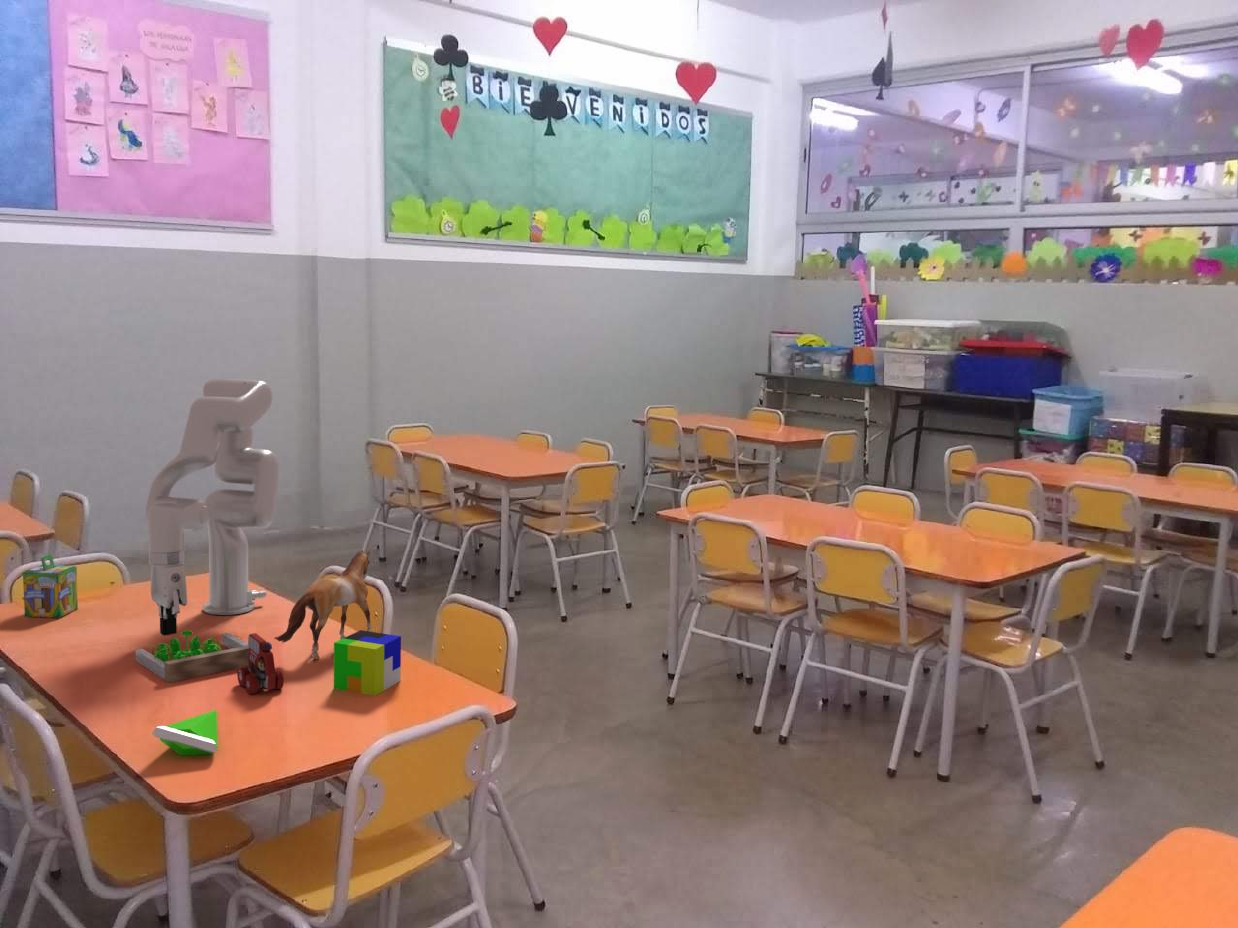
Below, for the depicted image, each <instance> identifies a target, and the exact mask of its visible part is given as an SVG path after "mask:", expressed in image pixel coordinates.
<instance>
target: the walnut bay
mask: <svg viewBox="0 0 1238 928" xmlns="http://www.w3.org/2000/svg"><path fill="white" fill-rule="evenodd" d="M221 645H223V646H224V647H226V648H227V649H224V650H222V651H220V650H219V651H217V652H212V653H207V654H205V653H204V654H202V655H197V656H194V655H193V656H186V657H184V658H181V659H176V660H174V659H173V660H171V659H170V660H169V661H166V662H163V661H161V660H160V659H158V658H157V656H156V657H154V656H155V654H154V655H152V653H150V652H149V651H147V650H145V649H144V648H138V649H135V661H136V662H137V663H139V664H140V665H142V666H143V667H144V668H146V669H147V670H149V671H150V672H152V673H153V674H155V676H156V675H157V676H158V677H159V678H161V679H162V680H164V681H165V682H166V683H173V682H174V683H175V682H178V681H183V680H188V679H193V678H198V677H203V676H207V675H211V674H212V675H213V674H218V673H222V672H226V671H231V670H236V669H237V670H238V669H239V668H240V667H245V666H246V667H248V657H249V646H248V642H246V641H244V640H242V639H240V638H239V637H237V636H235V635H233V634H231V633H229V632H225V633H221Z"/></svg>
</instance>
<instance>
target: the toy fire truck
mask: <svg viewBox="0 0 1238 928" xmlns="http://www.w3.org/2000/svg"><path fill="white" fill-rule="evenodd" d="M247 643H248V646H249V657H248V666H245V667H240V668H237V676H236V677H237V681H238V684H239V686H240V687H241V688H245V690H246V693H247V694H248V695H254V694H257V693H258V691H259V690H260V689H262V688H263V689H266V690H281V689H283V688H284V685H285V680H284V675H283V674H284V673H283V671H282V670H281V669H276V666H275V660H274V653H273V651H272V649H273V644H272V643H271V642H270V641H269V642H268V641H267V640H266V639H264V638H263V637H261V636H260V634H258V633H256V632H253V633H250V634H248V637H247Z"/></svg>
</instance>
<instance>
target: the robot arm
mask: <svg viewBox="0 0 1238 928" xmlns="http://www.w3.org/2000/svg"><path fill="white" fill-rule="evenodd" d="M202 389H203V391H202V392H203V396H202V397H199V398H196V399H195V400H194V401H193V402H192V404H191V405H190V409H189V413H188V417H187V421H186V424H185V428H184V433H183V436H182V440H181V445H180V449H179V452H178V454H177V455H175V456H174V458H172V460H170V461H169V462H168V463H167V464H165V466H164V467H163V468H162V469H161V470H160V471H159V472H158V474H157V475H156V476H155V477H154V479H153V481H152V484H151V486H150V489H149V493H148V497H147V502H146V507H145V518H146V521H147V523H148V524H147V525H148V526H147V527H148V528H147V529H148V562H149V564H148V565H149V566H151V568H150V569H151V570H150V596H151V600H152V601H153V602H154V603H155V604H156V606H157V607H158V616H159V634H160V635H161V636H162V637H163V636H164V637H166V636H171V635H176V634H177V631H178V630H177V623H178V622H177V618H178V614H180V613H181V608H180V605H181V606H182V607H186V606H187V605H188V589H187V579H186V569H185V566H184V564H185V532H192V531H193V532H194V531H199V530H201V529H203V528H204V527H206V526H207V533H208V534H207V535H208V574H209V575H208V577H209V578H208V579H209V580H208V581H209V583H208V584H209V589H208V590H209V593H208V594H209V598H208V599H209V600H208V602H206V603H204V604H203V606H202V610H203V612H204V613H206V614H210V615H215V616H231V615H239V614H240V615H241V614H245V613H248V612H251V611H252V610H254V609H255V605H256V604H255V602H254V601H255V600H256V599H264V598H266V597H267V592H266V590H258V591H257V590H256V589H255V590H252V589H249V542H248V539H247V536H246V534H245V533H244V530H243V529H242V528H248V529H251V528H252V529H266V528H268V527H269V526H271V524H272V523H273V521H274V519H275V515H276V507H277V506H276V505H277V497H278V487H279V477H280V465H279V464H280V463H279V460H278V458H277V456H276V454H275V453H274V452H273V451H271V450H269V449H264V448H253V437H254V436H253V435H254V434H253V433H254V431H253V430H254V429H253V426H254V425H255V424H256V423H257V422H259V420H260V419H261V418H262V417H263V416H264V415H265V414H266V413H267V412H268V411H269V409H270V407H271V405H272V402H273V391H272V388H271V387H270V385H269V384H268V383H267V382H265V381H263V380H258V379H239V378H238V379H237V378H214V379H209V380H207V381H206V383H205V382H204V385H203V388H202ZM213 465H214V474H215V478H216V479H217V481H219V482H220V483H224V484H229V485H238V486H239V485H240V486H242V485H243V486H253V490H245V489H233V488H220V489H215V490H213V491H211V492H210V493H208V494H207V496H206V497H205V500H202V499H199V498H198V499H197V498H190V497H189V498H187V497H185V498H184V497H175V496H170V495H171V492H172V490H173V488H174V487H175V486H176V485H177V484H178V483H179V482H180V481H181V480H182V479H184V478H185V477H187V476H189V475H192V474H193V473H197V472H199V471H201V470H205V469H207V468H209V467H211V466H213Z"/></svg>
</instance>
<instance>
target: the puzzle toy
mask: <svg viewBox="0 0 1238 928" xmlns="http://www.w3.org/2000/svg"><path fill="white" fill-rule="evenodd" d="M401 655H402V636H401V635H394V634H387V633H382V632H376V631H371V632H370V631H366V630H362V629H361V630H358V631H356V632H354V633H351V634H350V635H348V636H346V637H345V638H343V639H339V640H337V641H334V642H333V689H335V690H340V691H345V692H351V693H357V694H362V695H363V694H364V695H368V696H372V697H373V696H374V697H375V696H377V695H379V694H381V693H382V692H384V691H387V689H389V688H391V687H392V686H394V685H396V684H398V683H400V682H401V675H402V674H401V673H402V671H401V669H402V666H401V665H402V656H401Z"/></svg>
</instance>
